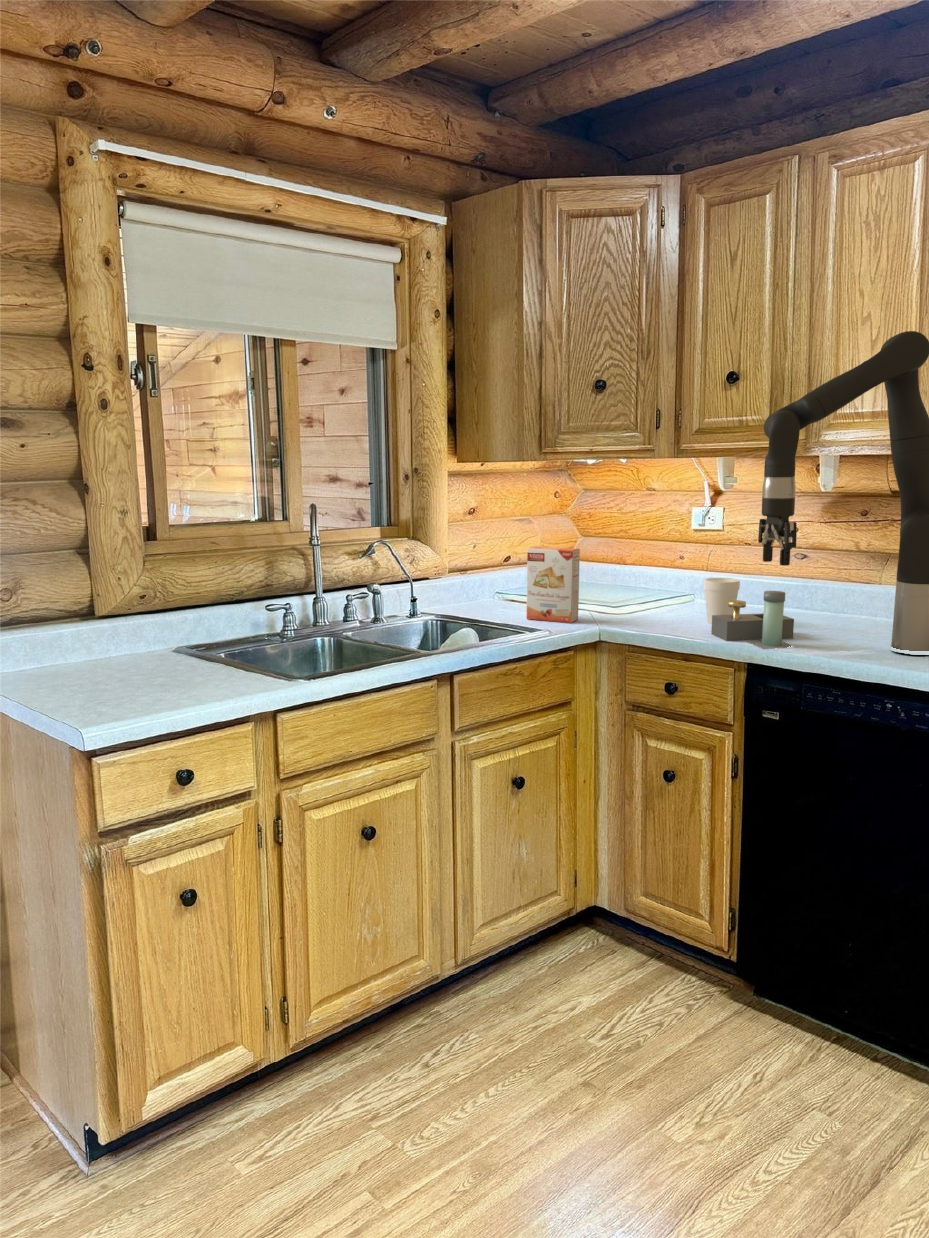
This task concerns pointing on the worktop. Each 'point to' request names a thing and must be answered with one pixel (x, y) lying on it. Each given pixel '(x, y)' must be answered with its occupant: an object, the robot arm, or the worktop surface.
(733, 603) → the brass plunger
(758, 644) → the slate mat
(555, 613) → the cracker box
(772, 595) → the cylinder
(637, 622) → the worktop surface
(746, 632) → the block
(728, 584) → the foam cup
